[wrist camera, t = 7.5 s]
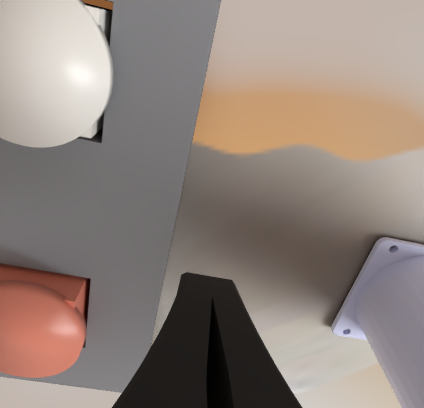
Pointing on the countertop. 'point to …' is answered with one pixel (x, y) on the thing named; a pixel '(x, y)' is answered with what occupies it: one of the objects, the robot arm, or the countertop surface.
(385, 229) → the countertop surface
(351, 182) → the countertop surface
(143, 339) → the plug panel
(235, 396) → the robot arm
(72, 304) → the red plug
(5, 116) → the plug
